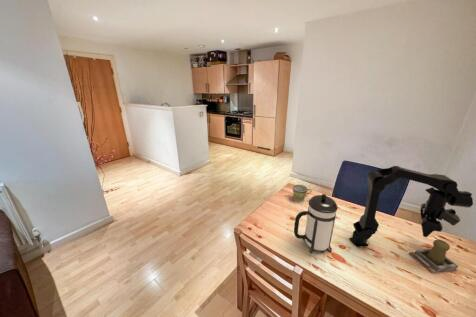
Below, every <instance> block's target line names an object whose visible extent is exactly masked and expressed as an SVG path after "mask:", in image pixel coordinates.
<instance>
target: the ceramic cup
mask: <svg viewBox="0 0 476 317" xmlns="http://www.w3.org/2000/svg"><path fill="white" fill-rule="evenodd" d="M308 191H309V192H308ZM307 192H308V193H307ZM292 193H293V200H295V201H294V202H296V203H303V202H304V201H305V198H306V196H308V195H309V194H311V193H312V189H310V188H307V186H306V185H303V184H294V185H292Z"/></svg>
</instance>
